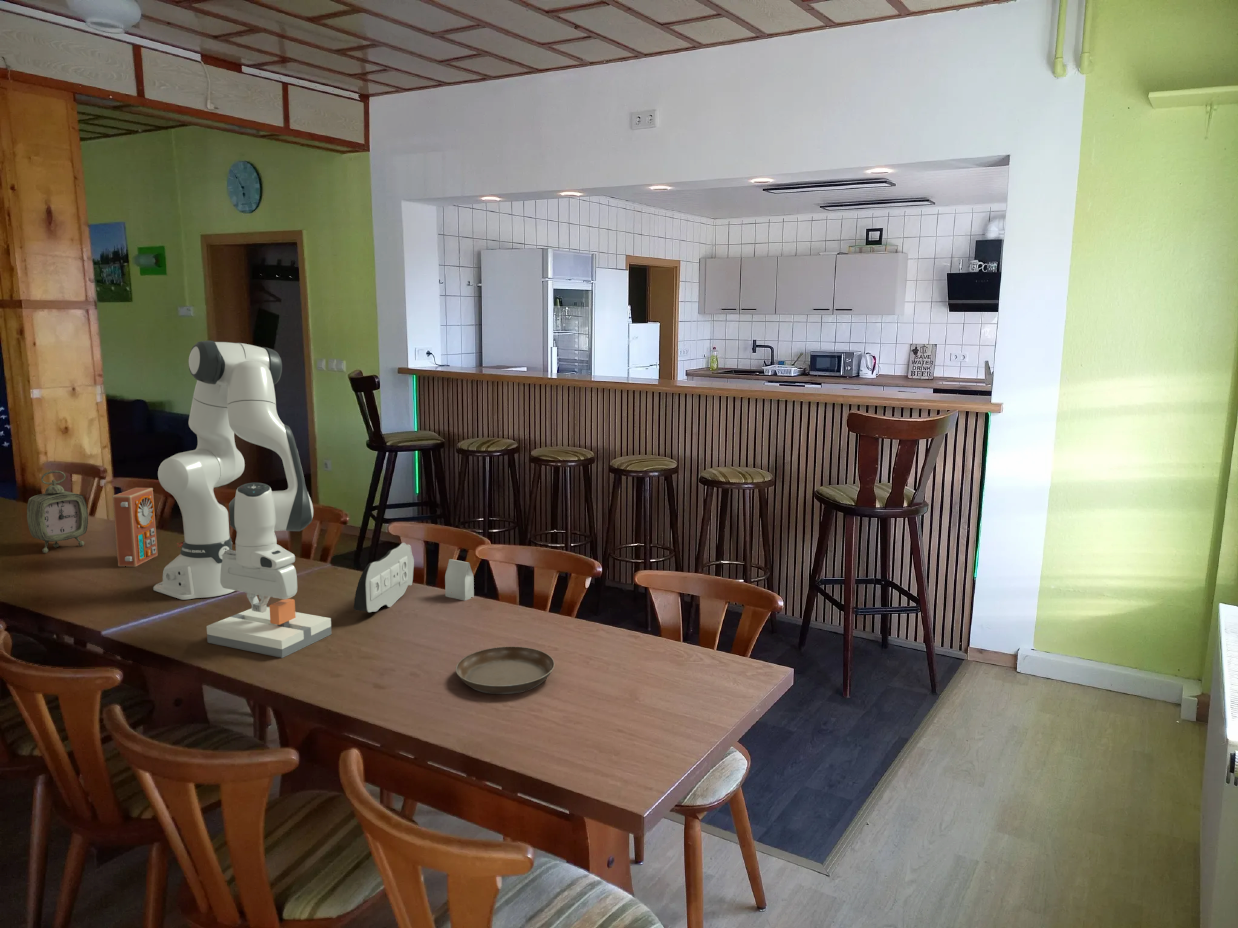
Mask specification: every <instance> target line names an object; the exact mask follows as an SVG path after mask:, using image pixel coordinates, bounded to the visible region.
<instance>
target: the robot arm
mask: <svg viewBox="0 0 1238 928" xmlns="http://www.w3.org/2000/svg"><path fill="white" fill-rule="evenodd" d="M188 370H189V372H190V375H191V376H192V377H193V378H194V380H196V383H195V387H194V390H193V395H192V400H191V407H190V412H189V417H188V427H189V428H190V430H191V431H192V432H193V433H194V434H195V435H196V437H197V445H196V448H195V449H193V450H187V451H183V452H178V453H175V454H174V455H171V456H170V457H167V458H165V459H164V460H163V461H162V462H161V463H160V465H159V467H158V471H157V477H158V481H159V484H160V486H161V487H162V488H163V489H164V490H165V492H168V493H169V494H170V495H172V496H173V498H174V499H175V500H176V502H177V505H178V506H179V509H180V513H181V516H182V525H183V536H184V540H183V541H181V542H177V543H176V544H177V548H180V554H179V555H178V556H176V557H175V558H174V559H173V560H171V561H170V562H169V563H168V564H167V565H165V567H164V568H163V571H162V581H159V583H156V584H155V585H154V586H153V587H152V589H153V591H154V592H158V593H160V594H164V595H167V596H169V597H172V598H175V599H176V598H177V599H179V600H181V601H182V600H191V599H200V598H201V599H202V598H203V599H204V598H213V597H219V596H224V595H228V594H230V593H233V592H235V591H237V592H242V593H246V598H247V599H248V601H249V603H250V605H251V608H252V611H256V612H261V613H263V612H265V611H266V610H267V607H268V606H267V605H268V602H269V600H270V599H271V598H274V599H280V600H283V599H292V598H293V597H295V595H296V594H297V592H298V577H297V570H296V567H295V565H294V563H295V561H296V556H295V554H294V553H292V552H291V551H289V550H287V549H285V548H284V547H283V546H281V545H279V544H277V543H278V541H277V536H276V533H275V532H279V531H280V532H281V531H286V532H301V531H303V530H305V529H306V528H307V527H308V526H309V525H310V524H311V523H312V522H313V517H314V505H313V502H312V498H311V497H310V494H309V491H308V489H307V486H306V481H305V477H304V476H305V475H304V472H303V468H302V464H301V459H300V455H299V451H298V448H297V443H296V439H295V436H294V434H293V431H292V428H290V426H289V425H287V424H284V423H283V422H282V420H281V419H280V417H279V415H278V410H277V399H276V391H275V385H276V384H277V383H279V381H280V379H281V376H282V373H283V362H282V357H280V353H278V352H277V351H276V350H274V349H272V348H268V347H265V346H262V347H261V346H257V345H253V344H249V343H248V344H247V343H242V342H228V341H214V340H202V341H197V342H196V343H195V344H194V345H193V346H192V348H191V349H190V352H189V357H188ZM235 435H236V436H237V437H239V438H240V439H242V440H244V441H246V442H248V443H250V444H254V445H257V446H260V447H263V448H266V449H269V450H271V451H273V452H275V453H276V454H277V455H278V456H279V457H280V458H281V460H282V464H283V465H282V466H283V468H284V469H283V470H284V474H285V478H286V481H287V489H285V490H272V488H271V486H270V485H268V484H267V483H262V482H248V483H244V484H242V485H240V486H238V487H237V489H236V491H235V497H233V498H232V500H230V502H229V504H228V509H227V507H225V506H224V505H223V504H221V503H219V502H218V499H217V498H216V495H215V492H214V488H218V487H221V486H225V485H228V484H230V483H232V482H233V481H235V480H237V479H238V478H240V477H241V476H242V474H243V473H244V471H245V466H246V464H245V463H246V462H245V459H244V456H243V454H242V452H241V451H240V450H239V449H238V448H237V446H236V442H235V441H236V440H235ZM228 510H229V511H228ZM230 527H231V528H233V530H235V531H236V537H235V550H234V549H233V542H232V541H233V540H232V538H231V535H230ZM259 600H260V601H259Z"/></svg>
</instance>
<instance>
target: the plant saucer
mask: <svg viewBox="0 0 1238 928" xmlns="http://www.w3.org/2000/svg"><path fill="white" fill-rule="evenodd" d="M555 666H556V665H555V660H554V658H553V657H552V656H551V655H550V654H548V653H547V652H544V651H542V650H539V649H536V648H532V647H525V646H499V647H498V646H497V647H492V648H485V649H482V650H477V651H475V652H472V653H470V654H467V655H466V656H464V657H463V658H461V659H460V660H459V661H458V662H457V664H456V666H455V672H456V674H457V676H458V677H459V679H460V680H461V681H462V682H463V683H464V684H466V685H467V686H468V687H470V688H471V689H473V690H475V691H478V692H480V693H483V694H492V695H493V694H494V695H512V694H519V693H523V692H527V691H530V690H532V689H534V688H536V687H538V686H540V685H541V684H542V683H543V682H545V681H546V679H547V678H549V677H550V676H551V673H552V672H553V670H554V668H555Z"/></svg>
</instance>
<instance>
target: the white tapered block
mask: <svg viewBox="0 0 1238 928" xmlns="http://www.w3.org/2000/svg"><path fill="white" fill-rule="evenodd" d="M474 576H475V575H474V574H473V570H472V568H471V563H470V562H467V561H462V560H457V559H453V558H452V559H451V558H449V559H448V564H447V567H446V571H445V575H444V585H445V591H444V593H445V596H444V597H446V598H450V599H451V598H452V599H454V600H460V601H468V600H470V599H472V598H471V597H473V598H474V597H475V589H474V587H475V585H474V584H475V582H474V581H475V580H474V579H475V578H474ZM451 592H452V593H451Z"/></svg>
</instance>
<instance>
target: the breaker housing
mask: <svg viewBox="0 0 1238 928" xmlns="http://www.w3.org/2000/svg"><path fill="white" fill-rule="evenodd" d="M295 616H296V618H294V619H292V620H289V628H286V627H281V626H277V624H272V623H270V606H267V610H266V611H265V612H263V613H261V612H256V611H252V607H251V608H248V609H247V610H244V611H241V612H238V613H236V614H233V615H230V616H229V617H228V616H227V617H226V618H224V619H221V620H219V621H215V622H213V623H211V624H208V625H206V635H207V637H206V638H207V639H206V640H207V643H209V644H213V645H217V646H223V647H227V648H233V649H238V650H243V651H247V652H252V653H256V654H262V655H267V656H272V657H276V658H280V659H281V658H282V659H283V658H285V657H287V656H289V655H291V654H294V653H296V652H297V651H300V650H301V649H304V648H306V647H308V646H310V645H312V644H314V643H317V642H319V641H321V640H322V639H325V638H326V637H327V638H328V637H329V636H330V635H332V618H331V617H325V616H320V615H315V614H309V613H303V612H298V611H295Z"/></svg>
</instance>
